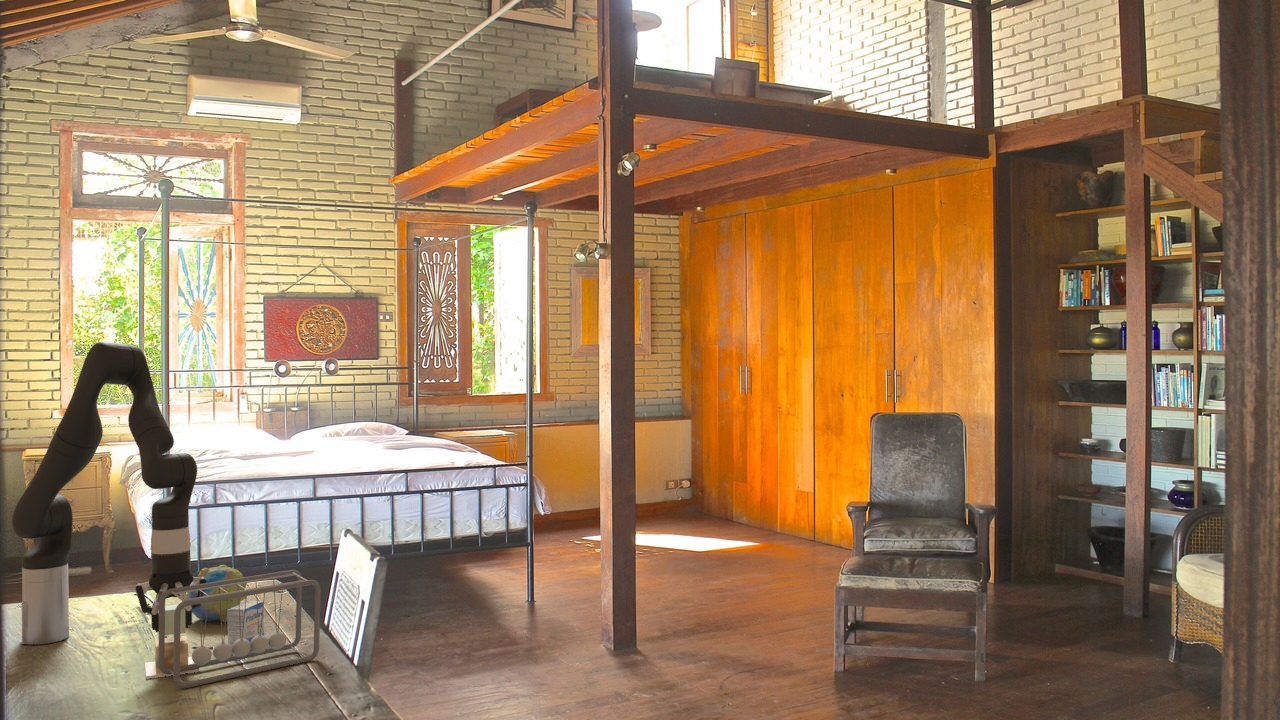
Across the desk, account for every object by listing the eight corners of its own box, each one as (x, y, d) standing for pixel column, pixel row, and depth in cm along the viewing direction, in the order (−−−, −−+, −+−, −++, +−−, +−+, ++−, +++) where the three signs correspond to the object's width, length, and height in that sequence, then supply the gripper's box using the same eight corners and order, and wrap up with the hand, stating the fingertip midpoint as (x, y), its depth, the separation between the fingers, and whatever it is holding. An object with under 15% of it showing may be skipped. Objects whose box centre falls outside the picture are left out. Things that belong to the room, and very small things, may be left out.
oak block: (156, 673, 209) (156, 649, 209) (155, 662, 216) (155, 639, 216) (188, 669, 211) (188, 645, 211) (186, 658, 219) (185, 635, 218)
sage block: (159, 636, 210) (158, 612, 210) (158, 630, 215) (158, 606, 215) (185, 632, 212) (185, 609, 212) (184, 627, 217) (184, 603, 217)
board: (145, 679, 207) (145, 676, 207) (144, 665, 216) (144, 662, 216) (199, 671, 211) (199, 669, 211) (196, 658, 220) (196, 656, 220)
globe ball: (185, 557, 251) (222, 566, 243) (238, 565, 264) (275, 574, 256) (168, 614, 248) (206, 625, 240) (223, 619, 261) (260, 630, 253)
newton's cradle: (174, 691, 199) (175, 603, 198) (157, 675, 207) (158, 589, 206) (319, 659, 219) (321, 578, 218) (299, 645, 227) (301, 567, 226)
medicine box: (244, 648, 228) (244, 609, 228) (227, 647, 229) (226, 608, 229) (264, 638, 236) (264, 601, 236) (247, 637, 237) (247, 600, 237)
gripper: (206, 542, 220) (207, 620, 220) (132, 549, 213) (133, 629, 214) (209, 548, 213) (210, 629, 213) (132, 555, 207) (134, 638, 207)
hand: (171, 629), depth 214 cm, fingers closed on sage block, 5 cm apart
